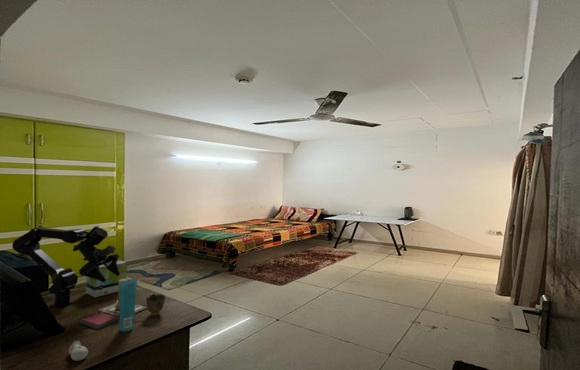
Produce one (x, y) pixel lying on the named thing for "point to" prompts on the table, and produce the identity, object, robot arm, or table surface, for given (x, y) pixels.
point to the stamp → (117, 307)
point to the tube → (127, 303)
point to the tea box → (111, 283)
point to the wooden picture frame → (111, 311)
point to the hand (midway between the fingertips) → (112, 278)
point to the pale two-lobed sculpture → (78, 351)
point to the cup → (155, 304)
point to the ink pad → (99, 320)
